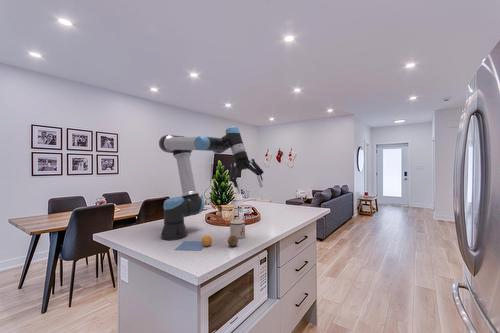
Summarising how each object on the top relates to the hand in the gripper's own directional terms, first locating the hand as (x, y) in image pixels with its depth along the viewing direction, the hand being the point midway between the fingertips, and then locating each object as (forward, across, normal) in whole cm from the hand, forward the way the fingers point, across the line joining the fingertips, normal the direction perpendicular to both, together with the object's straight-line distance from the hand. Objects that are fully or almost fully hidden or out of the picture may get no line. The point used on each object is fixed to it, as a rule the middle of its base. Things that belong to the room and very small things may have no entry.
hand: (251, 190), depth 126 cm
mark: (+18, -33, +22) cm, 43 cm away
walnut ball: (+22, -14, +11) cm, 28 cm away
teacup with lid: (+22, -5, +26) cm, 35 cm away
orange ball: (+18, -26, +18) cm, 36 cm away
